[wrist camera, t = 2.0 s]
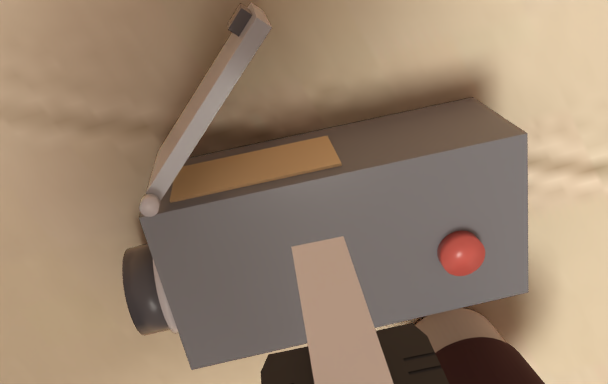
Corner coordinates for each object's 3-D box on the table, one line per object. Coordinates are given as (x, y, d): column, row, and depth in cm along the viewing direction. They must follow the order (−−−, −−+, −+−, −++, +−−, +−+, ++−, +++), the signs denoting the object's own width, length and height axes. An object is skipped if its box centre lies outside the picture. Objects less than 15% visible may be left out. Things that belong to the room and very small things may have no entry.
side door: (170, 157, 33) (160, 201, 28) (149, 145, 33) (134, 187, 28) (263, 10, 31) (272, 27, 25) (241, -5, 30) (245, 9, 25)
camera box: (161, 306, 39) (148, 389, 32) (108, 156, 34) (78, 215, 27) (479, 234, 39) (535, 300, 32) (471, 79, 35) (535, 116, 28)
